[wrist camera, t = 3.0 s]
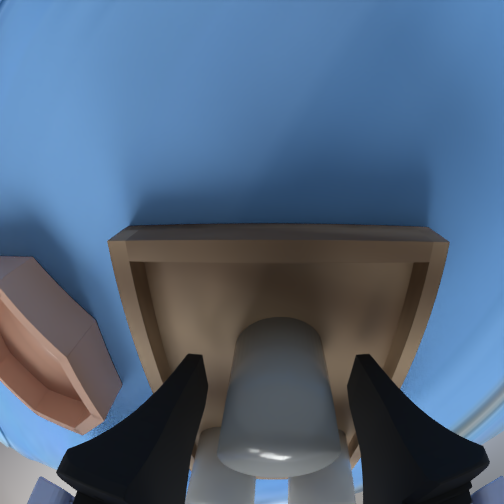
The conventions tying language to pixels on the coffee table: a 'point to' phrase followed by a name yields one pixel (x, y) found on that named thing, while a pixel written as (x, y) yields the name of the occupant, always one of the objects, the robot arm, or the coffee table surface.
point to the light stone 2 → (325, 482)
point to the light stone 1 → (217, 476)
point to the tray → (277, 297)
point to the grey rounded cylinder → (279, 402)
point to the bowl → (52, 349)
